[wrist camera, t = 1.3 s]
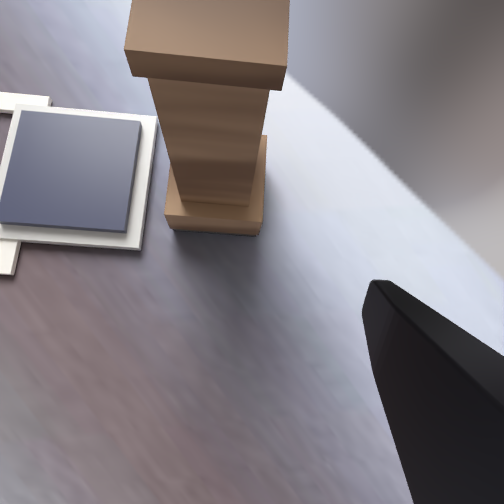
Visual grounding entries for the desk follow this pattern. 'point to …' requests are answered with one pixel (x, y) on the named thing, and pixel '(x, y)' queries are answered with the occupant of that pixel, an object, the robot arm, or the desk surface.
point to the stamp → (211, 102)
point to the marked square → (6, 250)
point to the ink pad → (76, 177)
